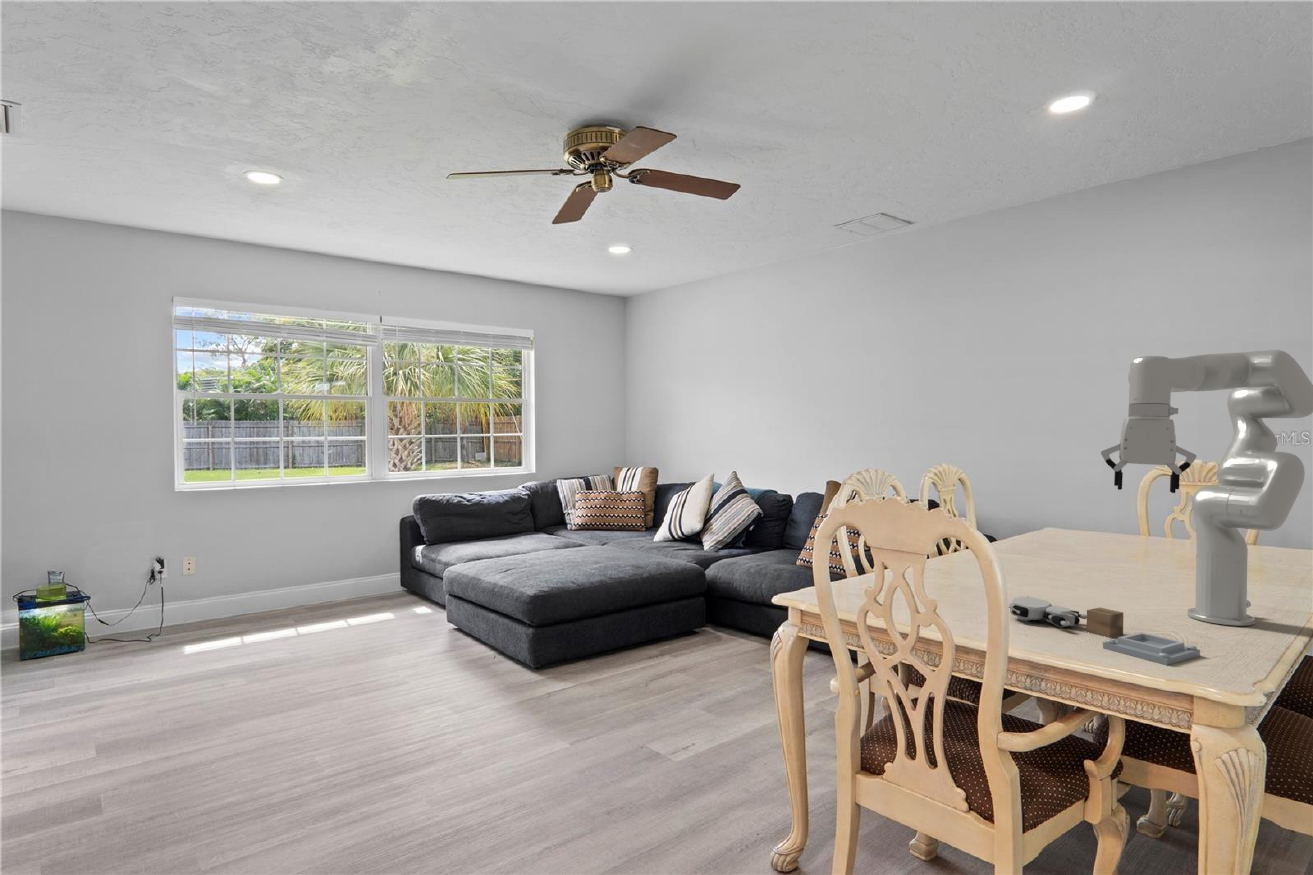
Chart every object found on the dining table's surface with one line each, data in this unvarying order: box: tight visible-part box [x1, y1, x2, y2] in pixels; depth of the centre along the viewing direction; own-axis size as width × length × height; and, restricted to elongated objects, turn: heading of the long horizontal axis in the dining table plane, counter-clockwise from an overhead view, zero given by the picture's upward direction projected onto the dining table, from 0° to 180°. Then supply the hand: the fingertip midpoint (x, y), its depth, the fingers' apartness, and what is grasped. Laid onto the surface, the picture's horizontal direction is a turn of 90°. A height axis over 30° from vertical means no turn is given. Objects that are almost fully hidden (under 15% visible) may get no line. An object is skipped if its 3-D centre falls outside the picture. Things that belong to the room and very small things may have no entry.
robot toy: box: [1008, 595, 1087, 628], centre depth 168 cm, size 12×4×15 cm
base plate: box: [1102, 631, 1201, 666], centre depth 146 cm, size 12×12×2 cm
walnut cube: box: [1086, 607, 1124, 639], centre depth 159 cm, size 5×5×5 cm
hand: (1145, 491), depth 158 cm, fingers open, 9 cm apart
